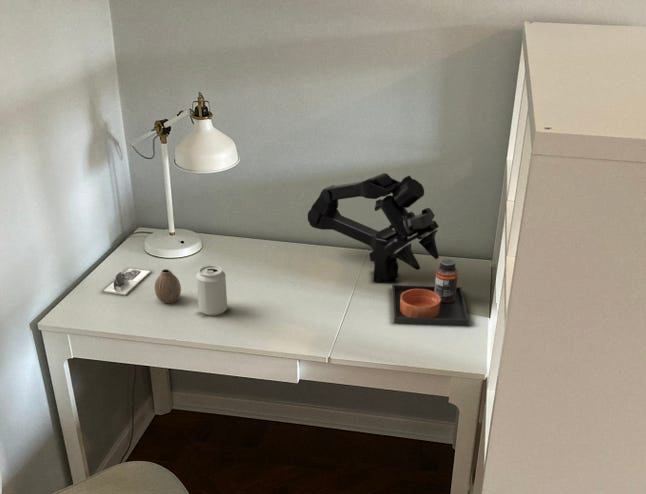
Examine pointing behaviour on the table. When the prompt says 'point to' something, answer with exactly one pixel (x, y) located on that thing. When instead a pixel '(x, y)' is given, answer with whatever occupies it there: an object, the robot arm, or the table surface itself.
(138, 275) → the rock on white stand
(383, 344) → the table surface
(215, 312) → the can
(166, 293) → the vase
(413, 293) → the bowl
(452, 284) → the supplement bottle
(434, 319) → the tray
